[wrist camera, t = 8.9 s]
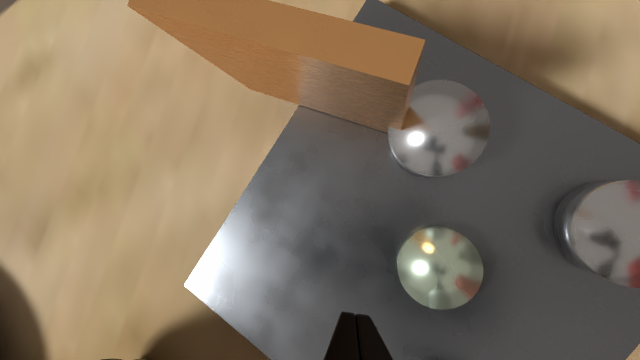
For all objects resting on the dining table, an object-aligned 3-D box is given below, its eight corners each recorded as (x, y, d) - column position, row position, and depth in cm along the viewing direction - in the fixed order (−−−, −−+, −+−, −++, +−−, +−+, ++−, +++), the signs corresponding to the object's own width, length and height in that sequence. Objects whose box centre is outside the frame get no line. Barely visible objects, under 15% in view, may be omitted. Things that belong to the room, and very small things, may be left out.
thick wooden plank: (491, 106, 16) (611, 12, 7) (459, 189, 16) (539, 194, 8) (265, 42, 19) (154, -84, 10) (241, 115, 19) (112, 55, 10)
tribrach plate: (721, 205, 15) (814, 210, 12) (468, 505, 18) (487, 583, 14) (371, 9, 19) (366, -29, 16) (198, 278, 21) (161, 296, 18)
